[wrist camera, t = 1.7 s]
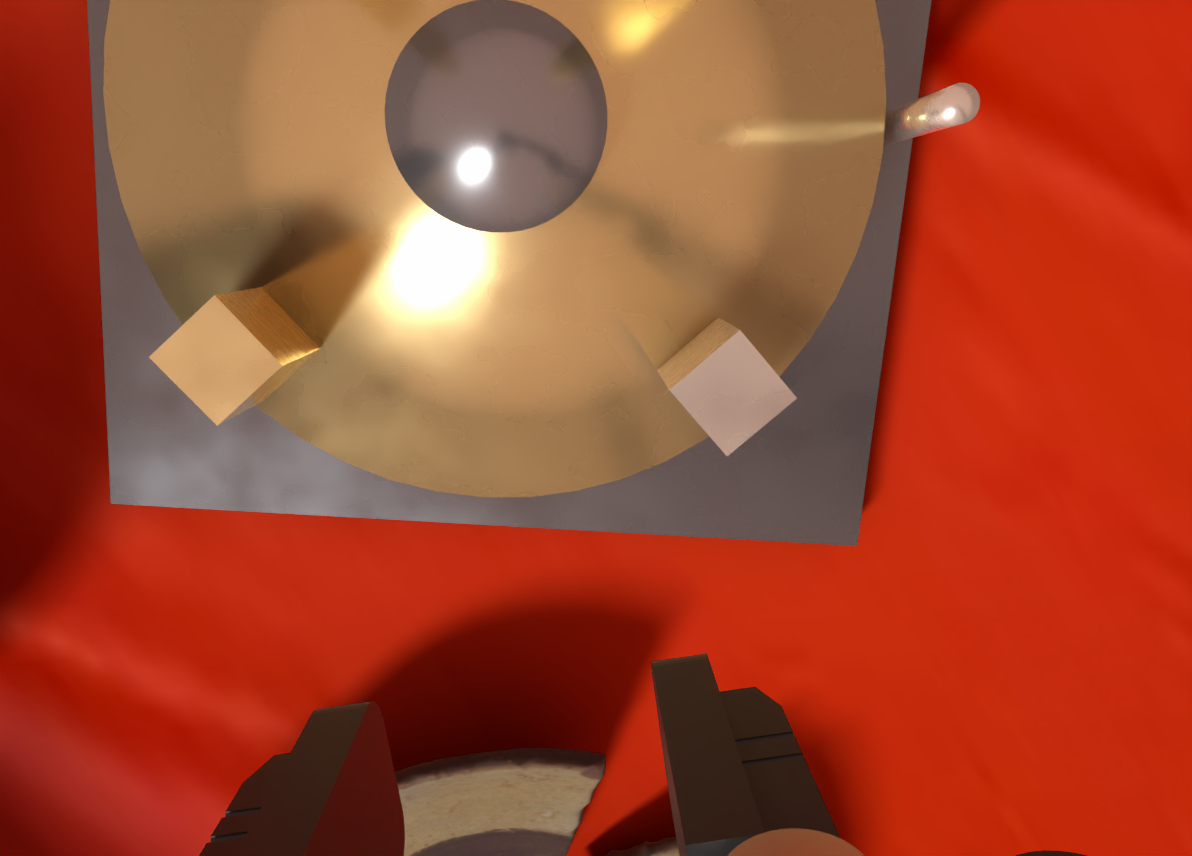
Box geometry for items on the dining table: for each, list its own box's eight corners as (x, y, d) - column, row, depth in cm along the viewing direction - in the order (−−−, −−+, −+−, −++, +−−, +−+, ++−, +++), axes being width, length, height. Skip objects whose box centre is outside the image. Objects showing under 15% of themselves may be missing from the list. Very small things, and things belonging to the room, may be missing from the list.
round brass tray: (2, 98, 28) (-168, 57, 21) (534, -446, 25) (521, -678, 19) (486, 597, 31) (464, 688, 25) (990, 171, 29) (1108, 153, 23)
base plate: (950, -264, 28) (1085, -443, 20) (844, 532, 33) (921, 616, 26) (96, -345, 27) (-83, -563, 19) (131, 491, 32) (1, 566, 25)
